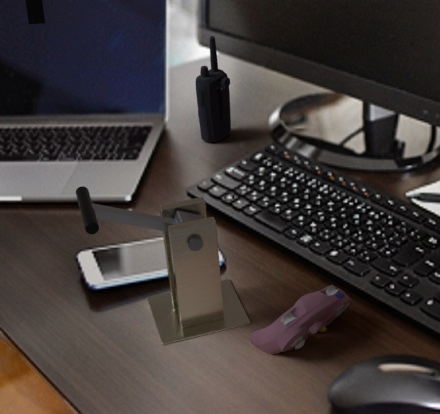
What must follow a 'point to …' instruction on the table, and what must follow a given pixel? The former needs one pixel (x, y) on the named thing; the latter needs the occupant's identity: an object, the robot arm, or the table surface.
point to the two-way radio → (213, 100)
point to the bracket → (194, 280)
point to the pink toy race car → (302, 320)
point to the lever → (124, 215)
